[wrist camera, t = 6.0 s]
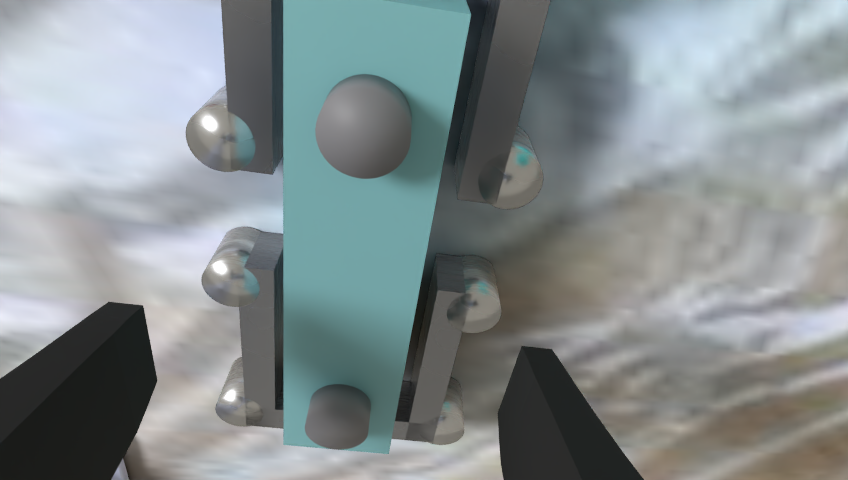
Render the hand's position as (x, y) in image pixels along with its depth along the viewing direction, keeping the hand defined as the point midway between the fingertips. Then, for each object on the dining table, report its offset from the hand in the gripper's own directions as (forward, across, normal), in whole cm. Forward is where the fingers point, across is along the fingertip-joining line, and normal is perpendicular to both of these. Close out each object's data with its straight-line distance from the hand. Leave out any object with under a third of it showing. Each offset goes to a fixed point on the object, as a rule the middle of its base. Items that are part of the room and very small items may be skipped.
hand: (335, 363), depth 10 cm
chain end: (+6, 0, +5) cm, 8 cm away
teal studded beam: (+6, 0, 0) cm, 6 cm away
